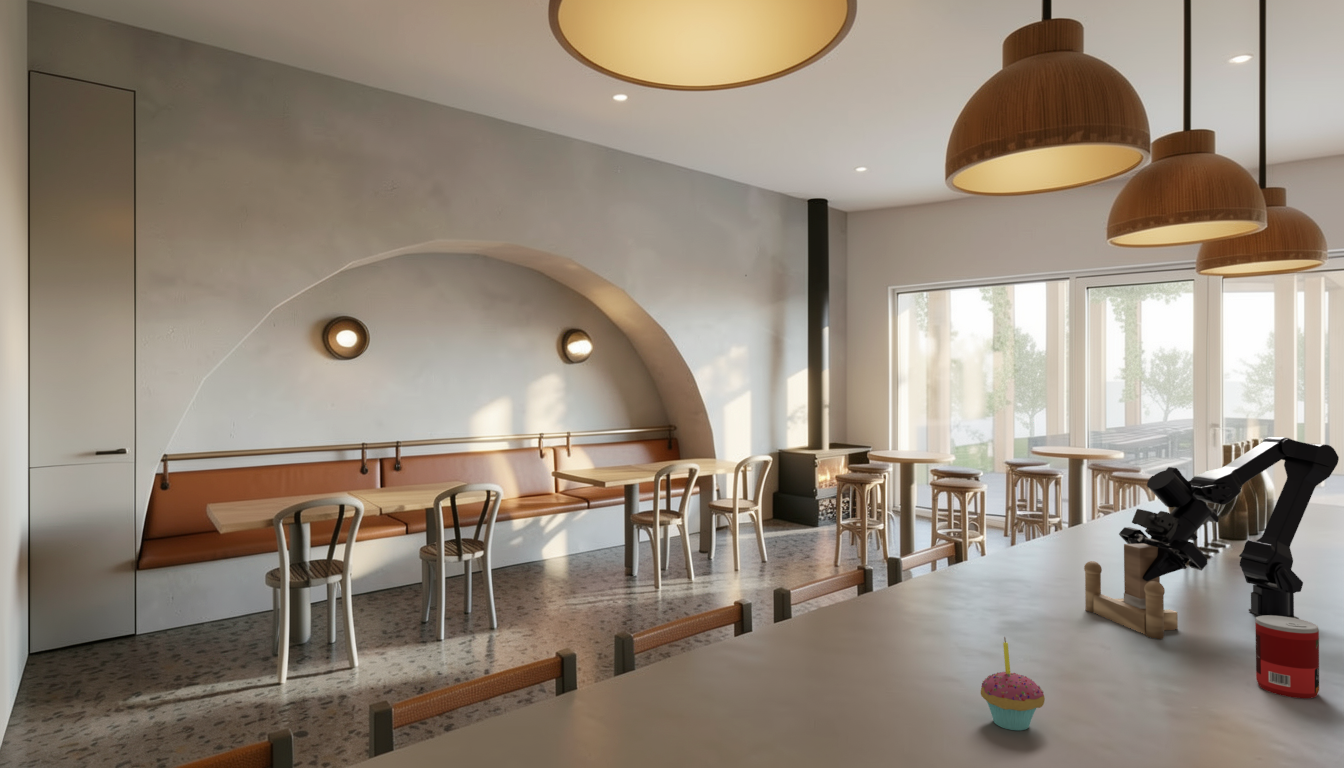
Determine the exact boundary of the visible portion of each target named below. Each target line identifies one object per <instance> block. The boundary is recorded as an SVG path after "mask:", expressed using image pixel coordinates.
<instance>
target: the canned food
mask: <svg viewBox="0 0 1344 768" xmlns="http://www.w3.org/2000/svg"><path fill="white" fill-rule="evenodd" d="M1254 630H1255V631H1254V632H1255V677H1256V678H1255V679H1256V682H1257V685H1258V686H1259V687H1260V688H1261V689H1263V691H1267V692H1269V693H1272V694H1274V695H1278V696H1282V697H1287V698H1294V699H1304V700H1305V699H1308V700H1309V699H1314V698H1316V697H1318V694H1319V692H1320V635H1319V634H1320V633H1319V632H1320V631H1319V626H1318V625H1317V624H1315V623H1314V622H1310V621H1308V620H1305V619H1300V618H1299V619H1296V618H1291V617H1284V616H1272V615H1265V616H1258V615H1257V616H1256V617H1255V629H1254Z"/></svg>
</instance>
